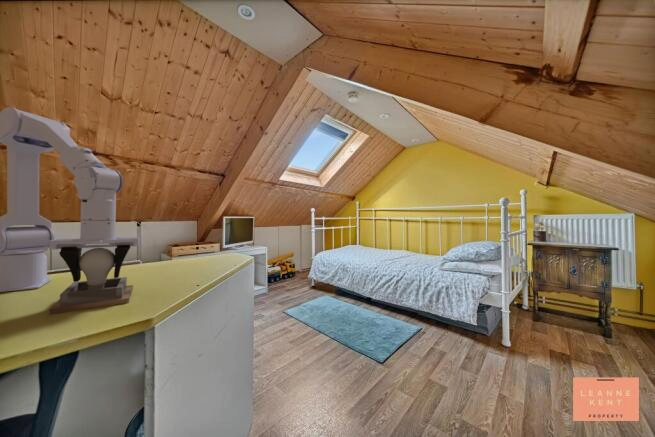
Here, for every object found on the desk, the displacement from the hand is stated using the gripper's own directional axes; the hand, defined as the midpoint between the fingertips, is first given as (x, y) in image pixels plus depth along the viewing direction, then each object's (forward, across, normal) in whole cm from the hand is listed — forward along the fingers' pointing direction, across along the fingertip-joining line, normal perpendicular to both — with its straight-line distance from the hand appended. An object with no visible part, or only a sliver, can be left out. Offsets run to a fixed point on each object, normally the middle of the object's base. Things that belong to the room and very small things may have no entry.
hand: (97, 278), depth 54 cm
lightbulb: (+4, 0, 0) cm, 4 cm away
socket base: (+5, 0, 0) cm, 5 cm away
